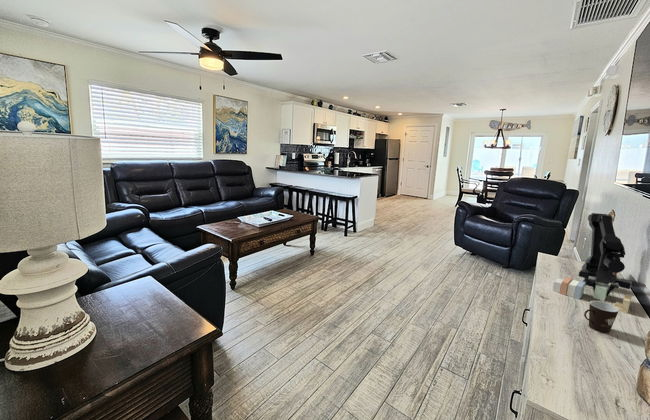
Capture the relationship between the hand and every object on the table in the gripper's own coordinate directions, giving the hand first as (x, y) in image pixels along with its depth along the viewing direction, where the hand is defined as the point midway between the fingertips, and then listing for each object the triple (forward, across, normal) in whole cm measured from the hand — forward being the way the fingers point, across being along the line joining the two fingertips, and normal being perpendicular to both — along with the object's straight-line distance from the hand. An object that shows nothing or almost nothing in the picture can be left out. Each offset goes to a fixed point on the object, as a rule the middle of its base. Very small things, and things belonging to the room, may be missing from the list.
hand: (600, 294), depth 147 cm
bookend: (+1, +8, -8) cm, 12 cm away
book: (+1, 0, 0) cm, 1 cm away
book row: (+1, -11, -8) cm, 14 cm away
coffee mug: (+1, +3, -38) cm, 38 cm away
